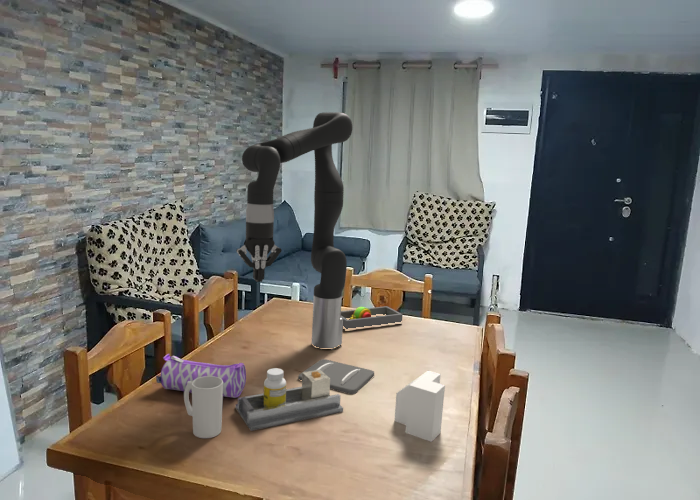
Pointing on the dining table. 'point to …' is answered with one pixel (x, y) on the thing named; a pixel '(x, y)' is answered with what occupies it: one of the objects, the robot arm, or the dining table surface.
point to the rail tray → (292, 403)
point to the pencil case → (201, 375)
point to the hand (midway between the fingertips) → (258, 281)
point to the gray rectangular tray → (390, 317)
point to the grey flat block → (342, 375)
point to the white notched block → (421, 406)
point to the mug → (205, 405)
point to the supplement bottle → (274, 388)
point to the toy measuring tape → (361, 313)
